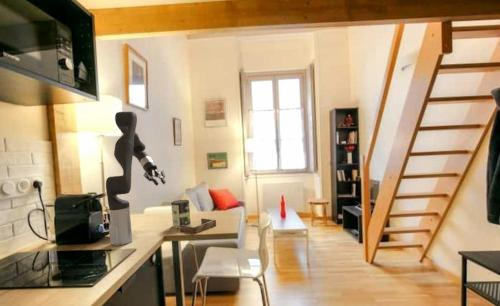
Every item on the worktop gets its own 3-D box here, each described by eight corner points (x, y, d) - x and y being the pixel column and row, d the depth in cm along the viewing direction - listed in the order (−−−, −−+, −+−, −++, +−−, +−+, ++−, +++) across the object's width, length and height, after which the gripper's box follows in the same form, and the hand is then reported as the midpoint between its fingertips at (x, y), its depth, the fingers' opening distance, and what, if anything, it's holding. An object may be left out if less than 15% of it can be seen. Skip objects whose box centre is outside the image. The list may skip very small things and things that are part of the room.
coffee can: (192, 222, 169) (190, 199, 169) (188, 227, 159) (186, 202, 159) (175, 223, 169) (173, 200, 169) (170, 228, 159) (168, 203, 159)
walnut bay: (194, 233, 146) (194, 227, 146) (181, 230, 152) (180, 225, 152) (216, 225, 158) (215, 219, 158) (202, 223, 165) (202, 218, 165)
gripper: (140, 161, 174) (153, 181, 167) (159, 160, 185) (172, 178, 178) (136, 170, 177) (148, 190, 170) (155, 168, 188) (168, 186, 181)
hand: (161, 183), depth 174 cm, fingers open, 4 cm apart
